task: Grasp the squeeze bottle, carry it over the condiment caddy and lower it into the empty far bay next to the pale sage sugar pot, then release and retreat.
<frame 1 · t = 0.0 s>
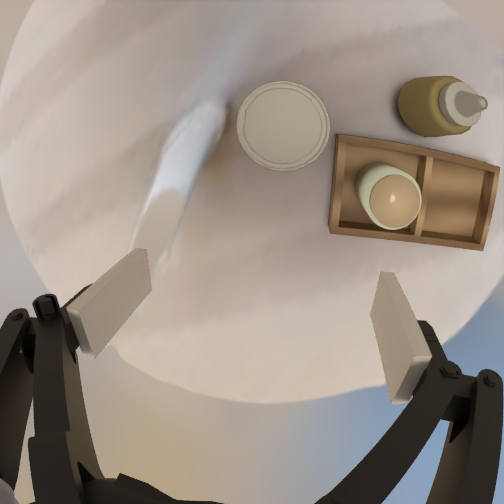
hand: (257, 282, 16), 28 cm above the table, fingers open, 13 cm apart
squeeze bottle: (416, 108, 34), on the table
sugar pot: (378, 186, 38), point 1 cm above the table, touching caddy
disposable coffee cup: (288, 126, 38), on the table
caddy: (415, 190, 38), on the table
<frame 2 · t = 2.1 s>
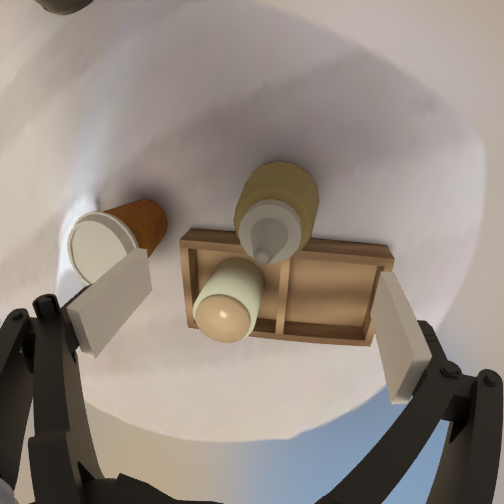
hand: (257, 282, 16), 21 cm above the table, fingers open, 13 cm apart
squeeze bottle: (283, 191, 35), on the table
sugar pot: (238, 281, 40), point 1 cm above the table, touching caddy
disposable coffee cup: (147, 221, 40), on the table
caddy: (284, 282, 40), on the table
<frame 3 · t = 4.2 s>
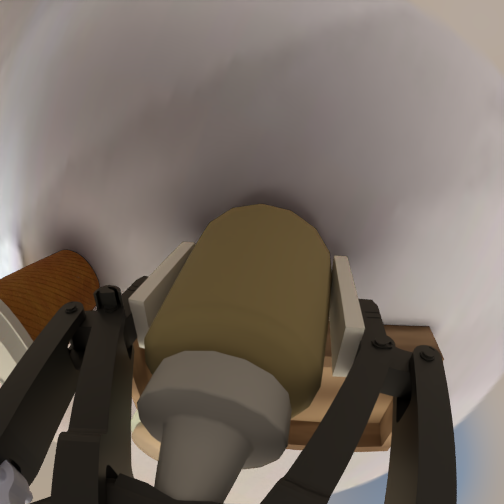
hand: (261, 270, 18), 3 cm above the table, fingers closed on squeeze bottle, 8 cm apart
squeeze bottle: (268, 247, 21), on the table, touching gripper
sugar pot: (203, 372, 25), point 1 cm above the table, touching caddy
disposable coffee cup: (76, 279, 25), on the table
caddy: (272, 374, 25), on the table
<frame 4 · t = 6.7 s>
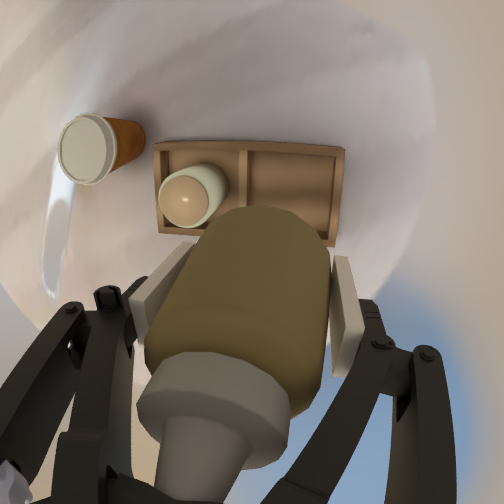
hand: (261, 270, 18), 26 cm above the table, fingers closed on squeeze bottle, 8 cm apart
squeeze bottle: (268, 247, 21), point 23 cm above the table, touching gripper
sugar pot: (205, 185, 42), point 1 cm above the table, touching caddy
disposable coffee cup: (129, 140, 42), on the table
caddy: (248, 186, 42), on the table
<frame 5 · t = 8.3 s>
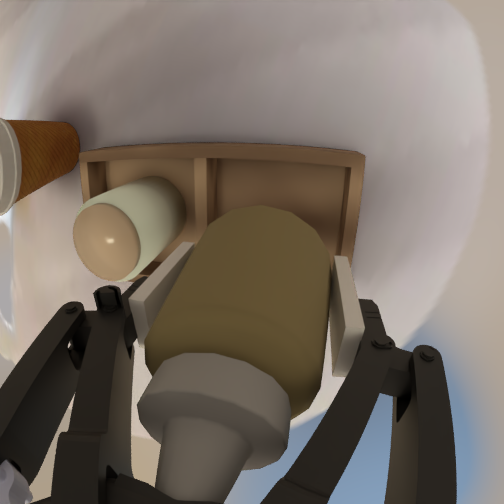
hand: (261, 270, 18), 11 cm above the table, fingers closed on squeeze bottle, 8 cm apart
squeeze bottle: (268, 248, 21), point 8 cm above the table, touching gripper
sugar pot: (153, 210, 28), point 1 cm above the table, touching caddy
disposable coffee cup: (62, 148, 29), on the table
caddy: (214, 211, 28), on the table
when the fingers open (6 cm above the table, at t = 9.5 s): squeeze bottle drops 2 cm, resting on caddy.
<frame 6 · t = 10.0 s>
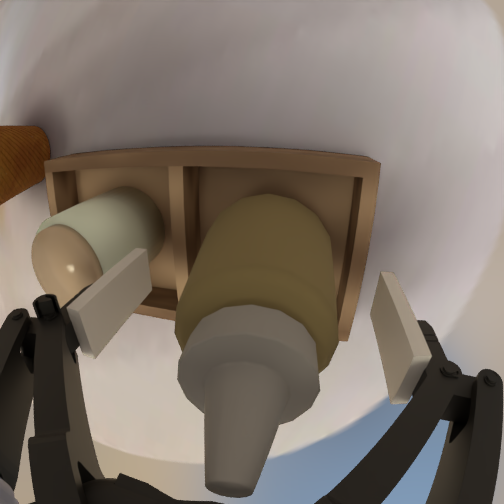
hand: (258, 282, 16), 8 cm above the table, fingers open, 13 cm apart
squeeze bottle: (270, 238, 22), point 1 cm above the table, touching caddy
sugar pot: (128, 226, 24), point 1 cm above the table, touching caddy
disposable coffee cup: (34, 154, 24), on the table
caddy: (198, 227, 24), on the table
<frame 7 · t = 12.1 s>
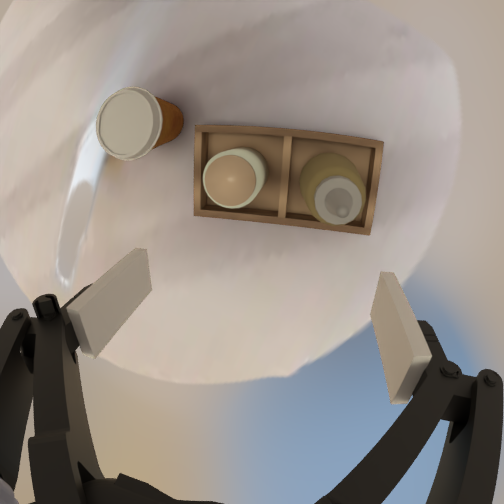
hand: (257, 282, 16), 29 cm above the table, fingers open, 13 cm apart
squeeze bottle: (328, 178, 41), point 1 cm above the table, touching caddy
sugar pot: (244, 170, 42), point 1 cm above the table, touching caddy
disposable coffee cup: (165, 122, 42), on the table
caddy: (286, 173, 42), on the table
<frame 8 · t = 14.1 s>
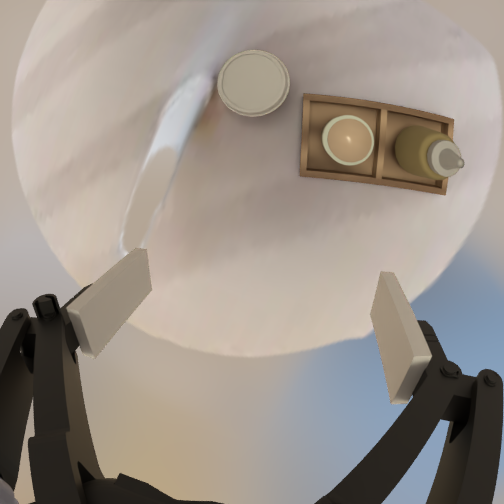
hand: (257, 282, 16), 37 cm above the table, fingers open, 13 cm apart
squeeze bottle: (410, 148, 43), point 1 cm above the table, touching caddy
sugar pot: (342, 138, 45), point 1 cm above the table, touching caddy
disposable coffee cup: (263, 91, 45), on the table
caddy: (376, 142, 45), on the table
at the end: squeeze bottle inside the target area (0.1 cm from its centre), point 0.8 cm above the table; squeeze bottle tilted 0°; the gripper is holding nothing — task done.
